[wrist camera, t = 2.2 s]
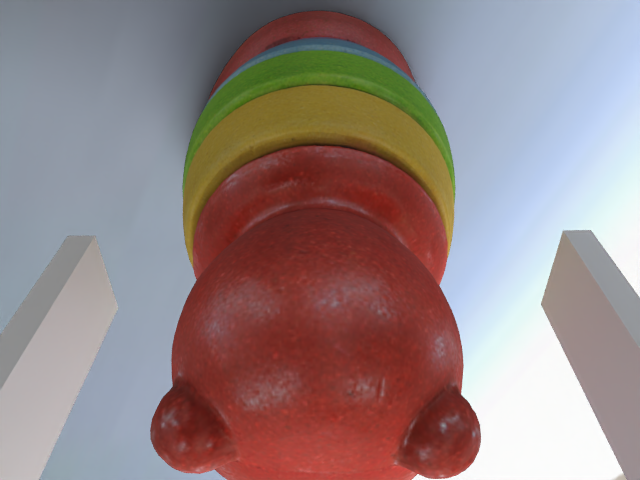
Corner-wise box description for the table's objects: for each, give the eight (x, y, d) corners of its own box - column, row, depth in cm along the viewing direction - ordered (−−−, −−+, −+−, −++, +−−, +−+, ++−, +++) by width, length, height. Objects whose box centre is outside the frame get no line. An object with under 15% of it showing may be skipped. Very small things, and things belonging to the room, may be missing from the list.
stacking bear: (199, 200, 27) (64, 589, 13) (199, -15, 21) (-49, 244, 7) (406, 223, 28) (504, 611, 13) (461, 23, 22) (736, 323, 8)
